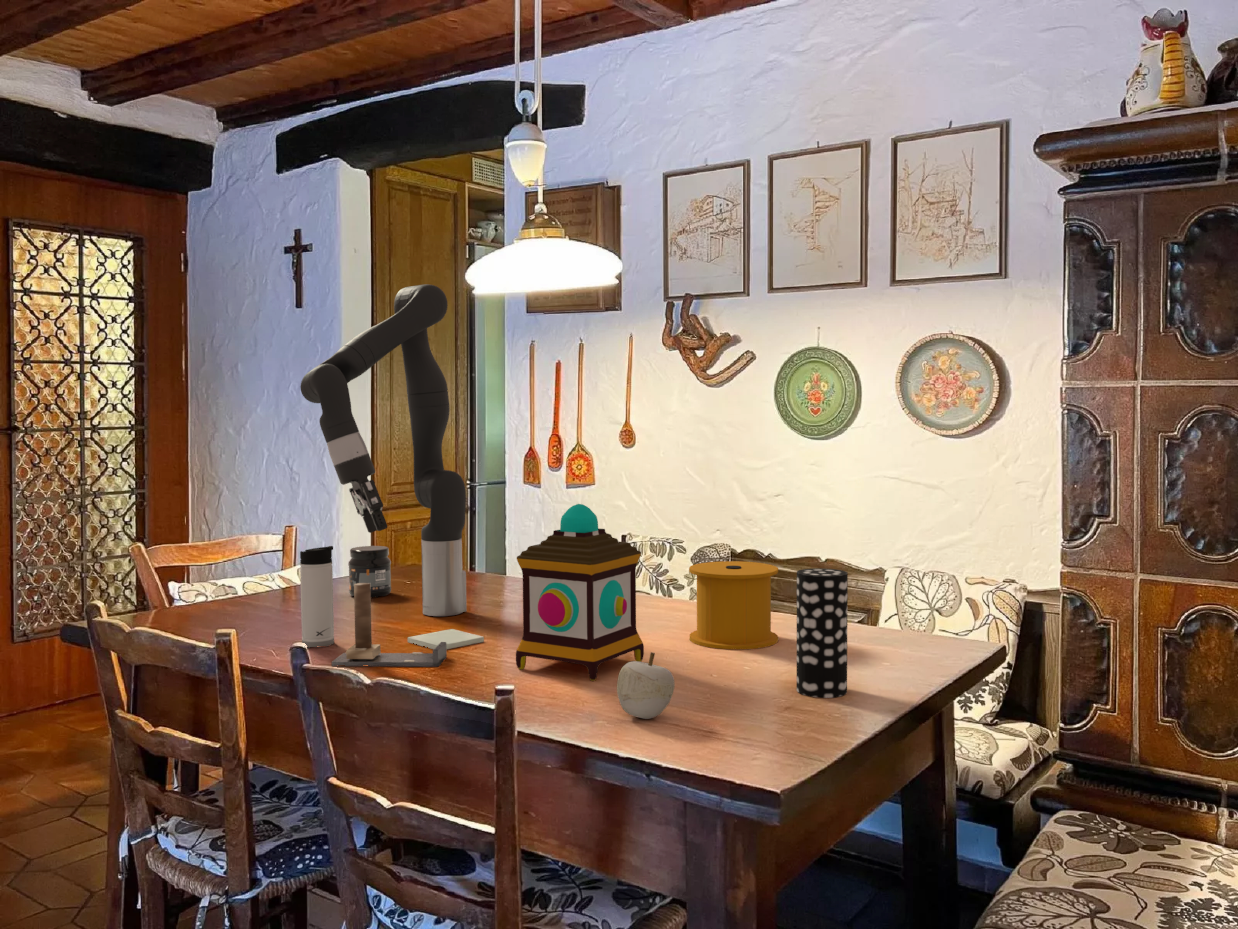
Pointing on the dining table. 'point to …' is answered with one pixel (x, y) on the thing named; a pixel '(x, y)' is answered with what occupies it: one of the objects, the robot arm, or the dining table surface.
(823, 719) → the dining table surface
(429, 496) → the robot arm
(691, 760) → the dining table surface
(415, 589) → the dining table surface
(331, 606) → the travel mug
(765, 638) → the spool
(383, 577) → the supplement container
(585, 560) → the decorative lantern
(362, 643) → the post
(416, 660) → the rail
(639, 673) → the decorative object
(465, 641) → the pad
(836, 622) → the spotted tube
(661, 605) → the dining table surface
